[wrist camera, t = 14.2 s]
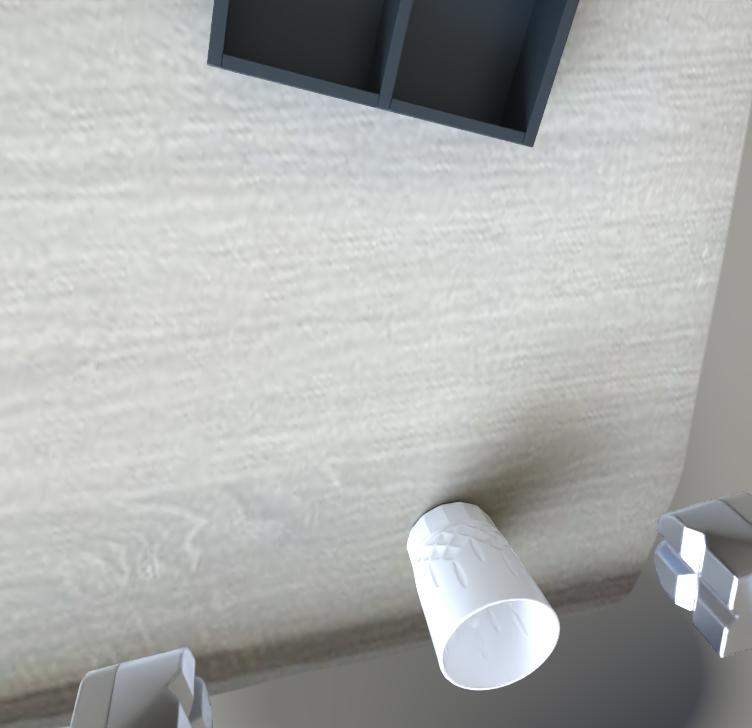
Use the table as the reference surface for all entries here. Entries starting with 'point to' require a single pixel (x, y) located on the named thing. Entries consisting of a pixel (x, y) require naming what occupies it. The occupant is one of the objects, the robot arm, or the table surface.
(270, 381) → the table surface
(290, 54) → the compartment tray
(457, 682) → the white cup
